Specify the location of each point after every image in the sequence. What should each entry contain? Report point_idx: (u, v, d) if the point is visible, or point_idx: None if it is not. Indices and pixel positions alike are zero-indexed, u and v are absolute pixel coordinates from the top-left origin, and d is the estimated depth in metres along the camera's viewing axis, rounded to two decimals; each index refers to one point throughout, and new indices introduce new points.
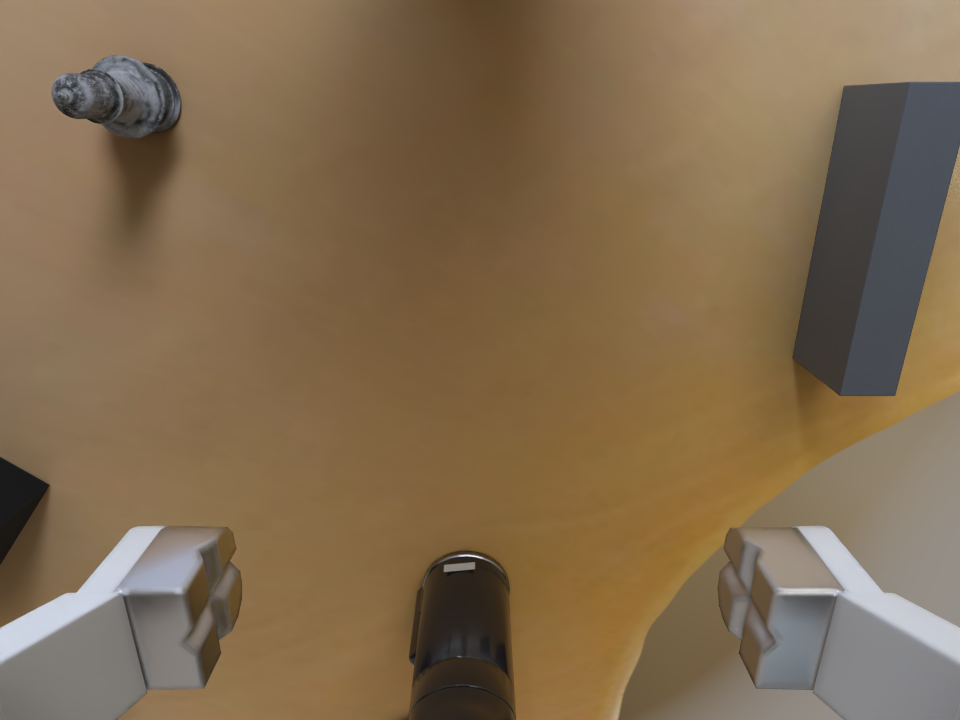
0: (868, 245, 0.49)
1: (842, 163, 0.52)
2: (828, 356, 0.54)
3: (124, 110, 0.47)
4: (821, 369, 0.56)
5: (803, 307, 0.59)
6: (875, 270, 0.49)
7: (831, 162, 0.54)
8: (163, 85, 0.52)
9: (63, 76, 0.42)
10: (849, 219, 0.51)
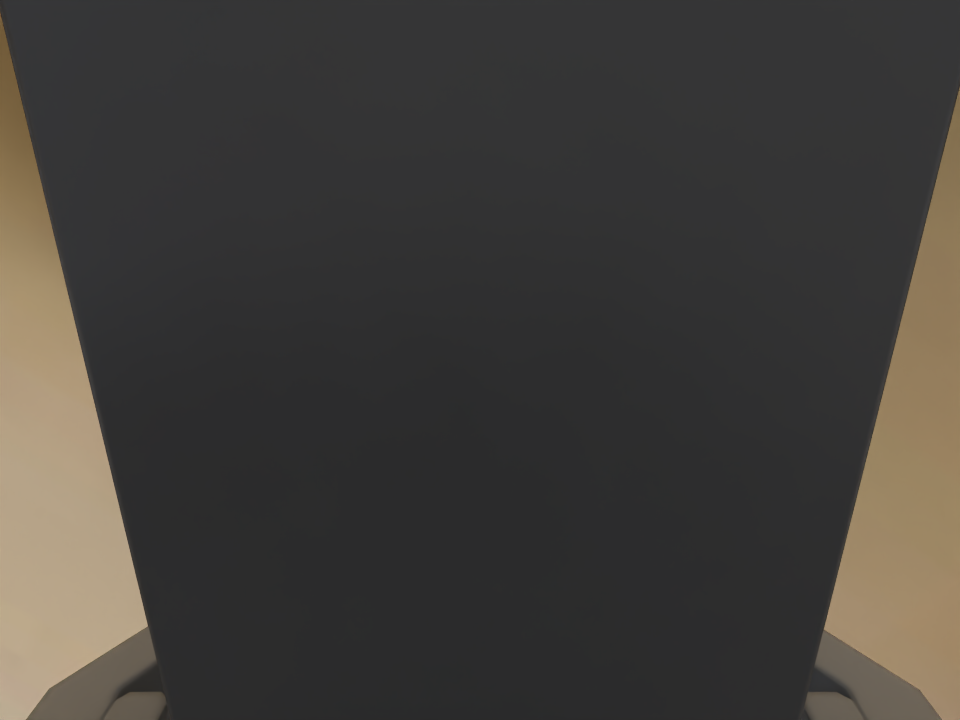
0: None
1: None
2: None
3: None
4: None
5: None
6: None
7: None
8: None
9: None
10: None
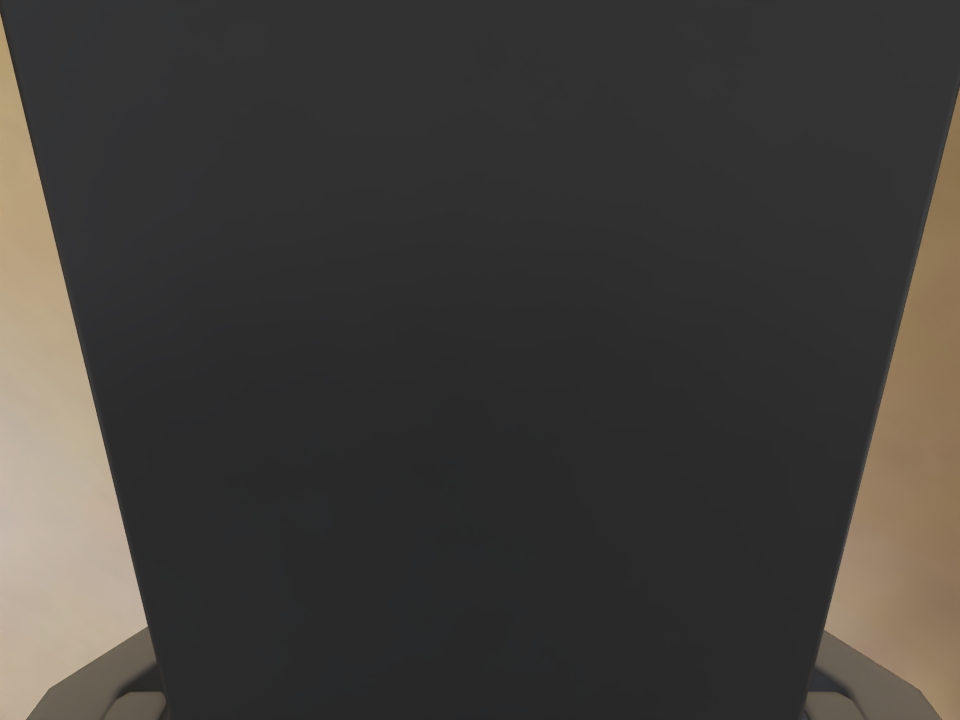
0: None
1: None
2: None
3: None
4: None
5: None
6: None
7: None
8: None
9: None
10: None
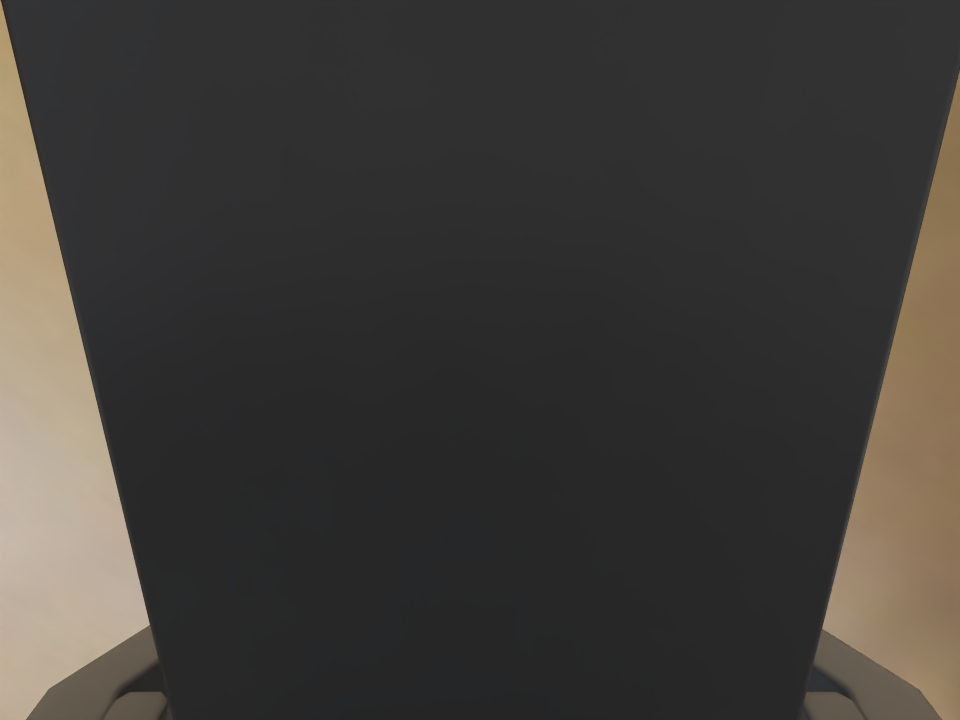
0: None
1: None
2: None
3: None
4: None
5: None
6: None
7: None
8: None
9: None
10: None
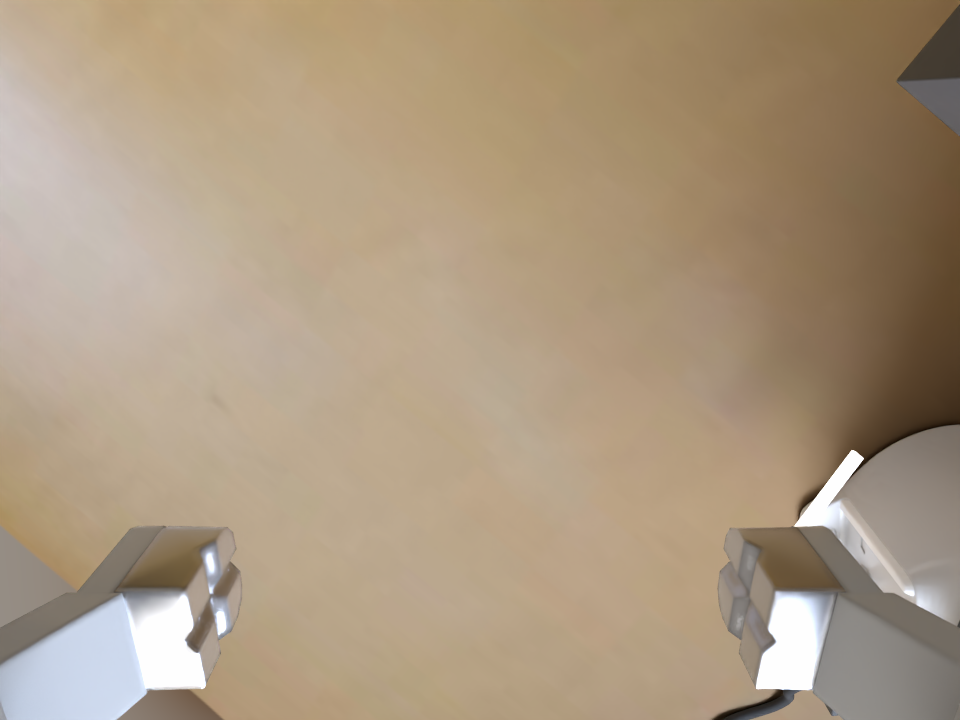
0: None
1: None
2: None
3: None
4: None
5: None
6: None
7: None
8: None
9: None
10: None
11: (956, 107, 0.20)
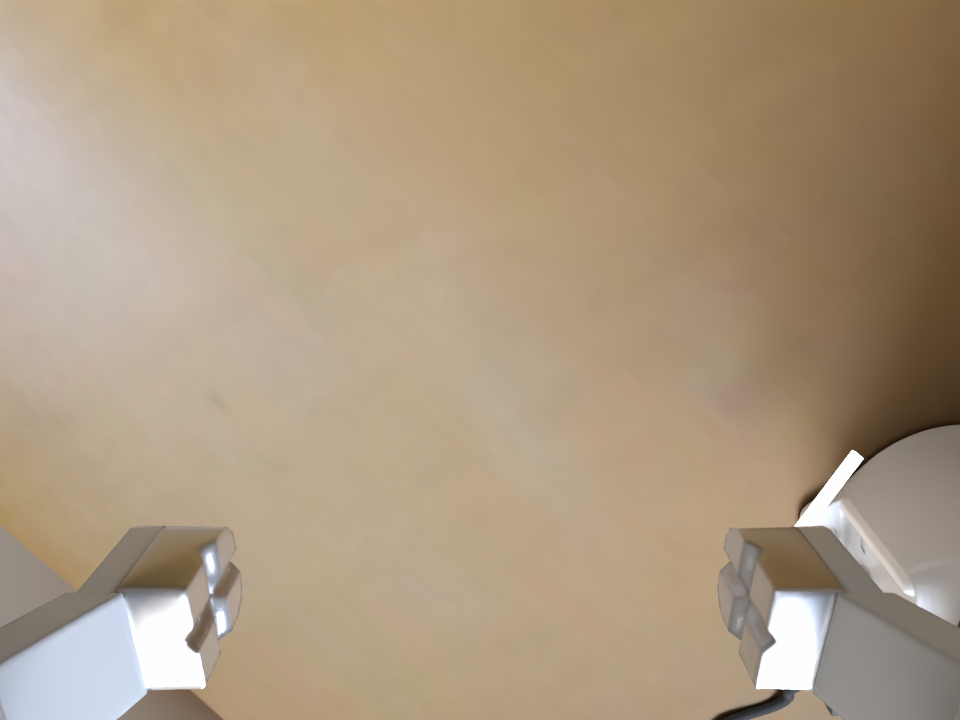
0: None
1: None
2: None
3: None
4: None
5: None
6: None
7: None
8: None
9: None
10: None
11: None
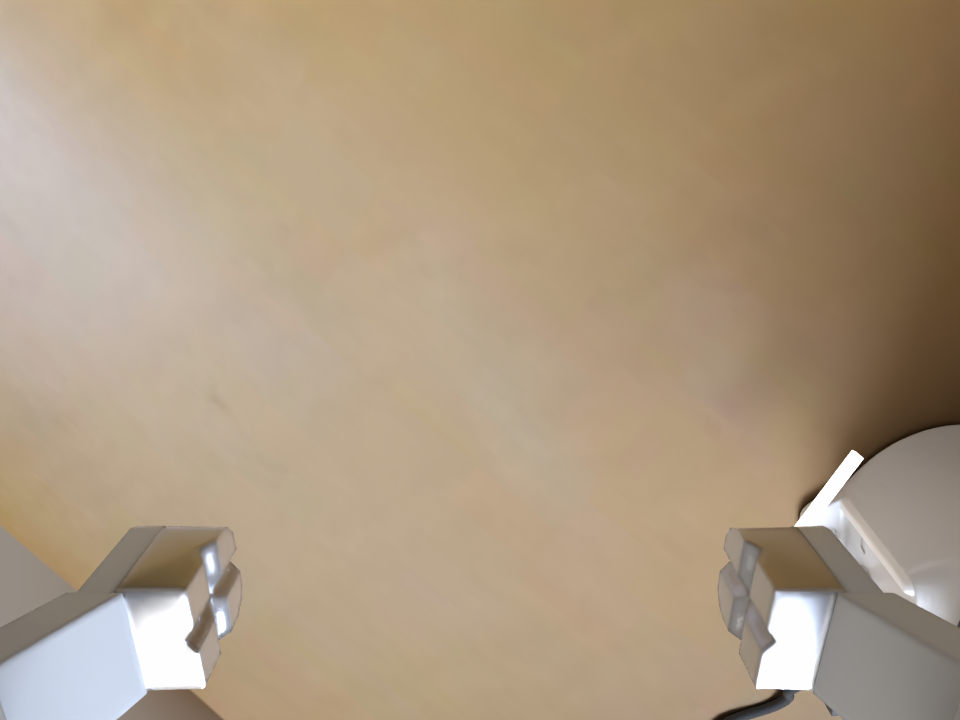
0: None
1: None
2: None
3: None
4: None
5: None
6: None
7: None
8: None
9: None
10: None
11: None
